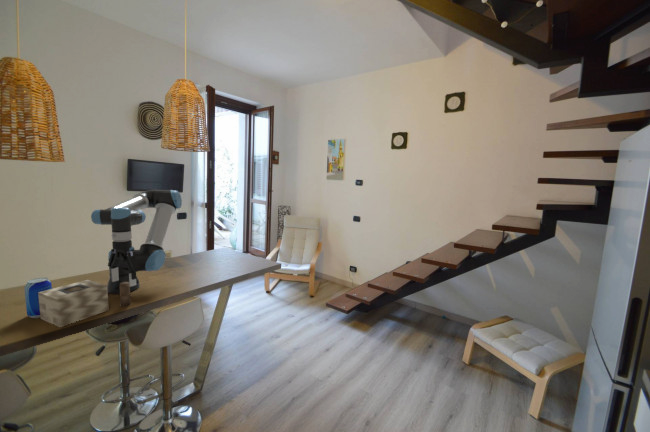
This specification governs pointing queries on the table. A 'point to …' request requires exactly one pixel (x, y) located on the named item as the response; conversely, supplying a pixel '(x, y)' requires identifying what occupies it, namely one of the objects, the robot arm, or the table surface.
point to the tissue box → (73, 302)
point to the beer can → (35, 295)
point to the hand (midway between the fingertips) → (124, 283)
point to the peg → (125, 294)
